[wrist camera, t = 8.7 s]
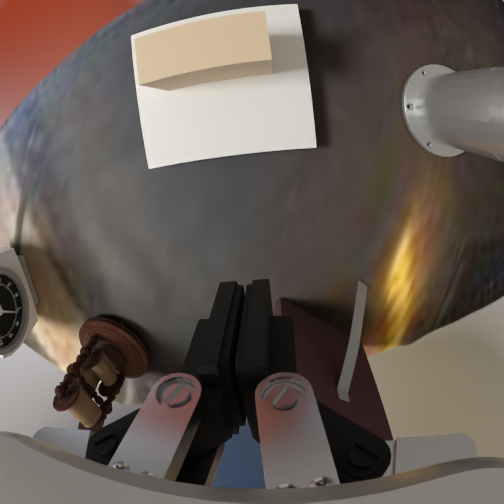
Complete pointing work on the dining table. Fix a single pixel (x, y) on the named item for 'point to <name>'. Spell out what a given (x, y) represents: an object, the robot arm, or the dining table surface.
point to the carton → (205, 52)
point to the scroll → (100, 370)
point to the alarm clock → (15, 301)
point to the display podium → (233, 102)
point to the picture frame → (338, 366)
